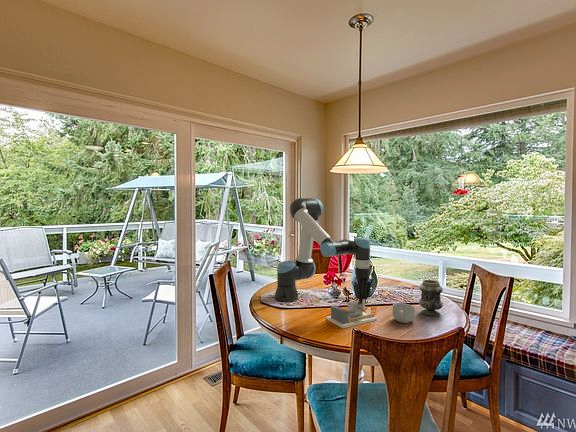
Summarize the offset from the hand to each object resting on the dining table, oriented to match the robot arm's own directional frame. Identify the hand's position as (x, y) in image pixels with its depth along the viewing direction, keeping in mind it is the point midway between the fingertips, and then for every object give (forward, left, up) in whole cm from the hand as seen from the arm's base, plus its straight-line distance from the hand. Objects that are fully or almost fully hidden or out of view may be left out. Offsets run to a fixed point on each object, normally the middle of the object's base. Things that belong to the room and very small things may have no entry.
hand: (362, 310), depth 164 cm
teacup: (+15, +13, -4) cm, 21 cm away
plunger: (+2, -5, -2) cm, 6 cm away
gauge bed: (0, -8, -3) cm, 8 cm away
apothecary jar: (+14, +36, -4) cm, 39 cm away
